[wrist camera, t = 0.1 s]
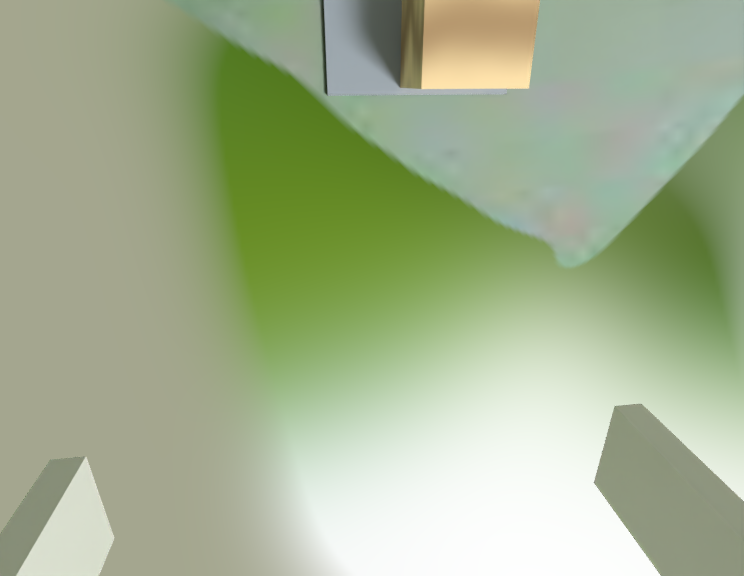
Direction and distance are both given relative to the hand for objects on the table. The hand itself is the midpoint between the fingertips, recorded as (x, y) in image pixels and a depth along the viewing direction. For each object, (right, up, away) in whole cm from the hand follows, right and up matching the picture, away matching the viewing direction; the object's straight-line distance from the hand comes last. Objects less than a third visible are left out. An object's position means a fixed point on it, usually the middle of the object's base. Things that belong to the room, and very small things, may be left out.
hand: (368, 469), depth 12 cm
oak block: (+6, +23, +22) cm, 32 cm away
